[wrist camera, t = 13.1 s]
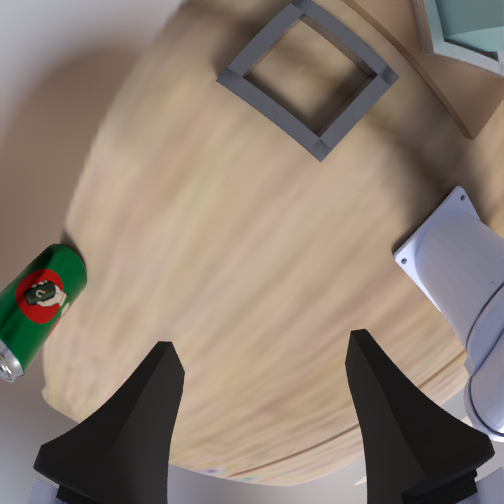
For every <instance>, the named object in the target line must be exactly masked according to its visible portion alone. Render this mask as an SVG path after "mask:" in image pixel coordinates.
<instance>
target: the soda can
mask: <svg viewBox="0 0 504 504" xmlns="http://www.w3.org/2000/svg"><path fill="white" fill-rule="evenodd" d="M86 283H87V275H86V270H85V266H84V264H83V262H82V260H81V258H80V257H79V256H78V254H77V253H76V252H75V251H73V250H72V249H71V248H69V247H67V246H65V245H61V244H52V245H50V246H49V247H47V248H46V249H45V250H44V251H43V252H42V253H41V254H39V255H38V256H37V257H36V258H35V259H34V260H33V261H32V262H31V263H30V264H28V265H27V266H26V267H25V268H24V269H23V270H22V271H21V272H20V273H19V274H18V275H17V276H16V277H15V278H14V279H13V280H12V281H11V282H10V283H9V284H8V285H7V286H6V287H5V288H4V289H3V290H2V291H1V292H0V378H2V379H3V380H5V381H7V382H9V383H13V382H14V381H15V378H18V377H21V376H24V374H25V373H26V371H27V370H28V368H29V366H30V365H31V363H32V362H33V360H34V358H35V357H36V355H37V354H38V352H39V351H40V349H41V348H42V346H43V345H44V343H45V342H46V340H47V339H48V337H49V336H50V334H51V333H52V331H53V330H54V329H55V327H56V326H57V324H58V323H59V321H60V320H61V319H62V317H63V316H64V315H65V313H66V312H67V310H68V309H69V308H70V306H71V305H72V304H73V302H74V301H75V300H76V299H77V297H78V296H79V295H80V293H81V292H82V291H83V290H84V288H85V286H86Z"/></svg>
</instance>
